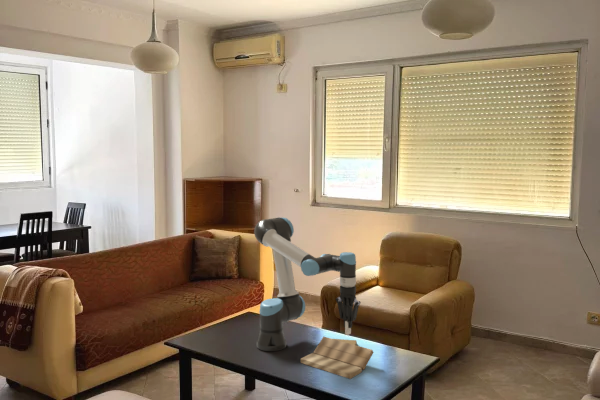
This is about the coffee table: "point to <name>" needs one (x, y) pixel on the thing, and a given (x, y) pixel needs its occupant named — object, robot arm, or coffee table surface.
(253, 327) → the coffee table surface
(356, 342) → the crown molding
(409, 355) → the coffee table surface
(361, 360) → the board
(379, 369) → the coffee table surface
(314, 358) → the laid board
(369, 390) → the coffee table surface
